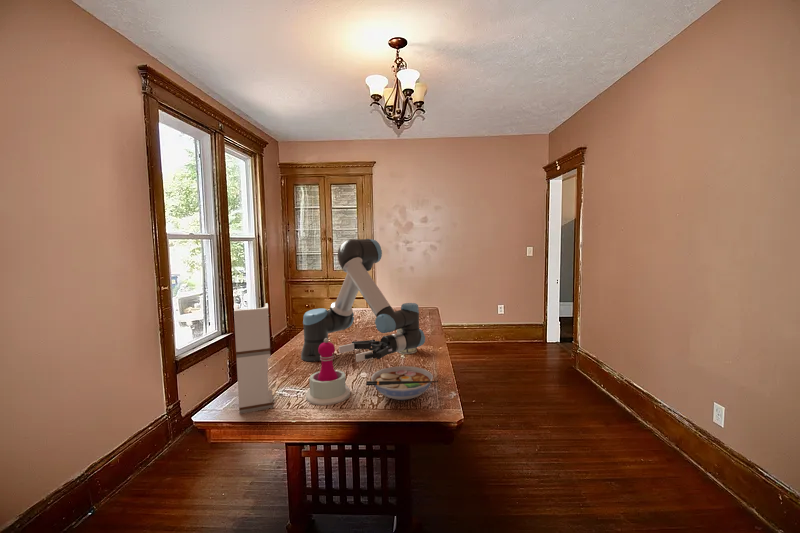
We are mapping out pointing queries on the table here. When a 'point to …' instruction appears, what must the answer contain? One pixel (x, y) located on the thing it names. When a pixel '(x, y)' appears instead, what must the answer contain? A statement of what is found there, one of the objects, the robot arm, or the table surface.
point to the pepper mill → (327, 361)
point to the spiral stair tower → (252, 358)
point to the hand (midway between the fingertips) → (347, 353)
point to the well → (327, 390)
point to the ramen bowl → (401, 382)
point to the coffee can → (408, 351)
